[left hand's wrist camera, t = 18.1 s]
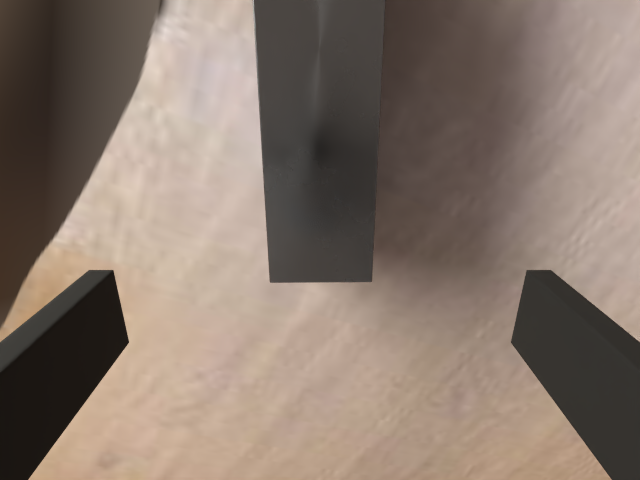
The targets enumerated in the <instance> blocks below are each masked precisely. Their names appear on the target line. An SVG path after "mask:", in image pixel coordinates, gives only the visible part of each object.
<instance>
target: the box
mask: <svg viewBox="0 0 640 480" xmlns="http://www.w3.org/2000/svg"><path fill="white" fill-rule="evenodd" d="M253 14H254V30H255V47H256V63H257V79H258V96H259V112H260V128H261V145H262V161H263V177H264V194H265V210H266V226H267V243H268V259H269V275H270V283H286V282H372V269H373V249H374V228H375V207H376V186H377V165H378V145H379V124H380V103H381V82H382V61H383V41H384V20H385V0H253Z"/></svg>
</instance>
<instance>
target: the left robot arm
mask: <svg viewBox="0 0 640 480" xmlns="http://www.w3.org/2000/svg"><path fill="white" fill-rule="evenodd" d="M128 343H129V340H128V335H127V331H126V326H125V322H124V317H123V313H122V308H121V303H120V299H119V294H118V290H117V285H116V281H115V276H114V271H113V270H89V271H88V272H86V273H85V274H84V275H83V276H81V277H80V278H79V279H78V280H76V281H75V282H74V283H73V284H72V285H70V286H69V287H68V288H67V289H65V290H64V291H63V292H62V293H60V294H59V295H58V296H57V297H56V298H54V299H53V300H52V301H51V302H49V303H48V304H47V305H46V306H44V307H43V308H42V309H41V310H40V311H38V312H37V313H36V314H35V315H33V316H32V317H31V318H30V319H28V320H27V321H26V322H25V323H24V324H22V325H21V326H20V327H19V328H17V329H16V330H15V331H14V332H12V333H11V334H10V335H9V336H8V337H6V338H5V339H4V340H3V341H1V342H0V480H28V479H29V478H30V476H31V475H32V474H33V472H34V471H35V470H36V468H37V467H38V465H39V464H40V463H41V461H42V460H43V459H44V457H45V456H46V455H47V453H48V452H49V450H50V449H51V448H52V446H53V445H54V444H55V442H56V441H57V440H58V438H59V437H60V436H61V434H62V433H63V431H64V430H65V429H66V427H67V426H68V425H69V423H70V422H71V421H72V419H73V418H74V416H75V415H76V414H77V412H78V411H79V410H80V408H81V407H82V406H83V404H84V403H85V402H86V400H87V399H88V397H89V396H90V395H91V393H92V392H93V391H94V389H95V388H96V387H97V385H98V384H99V383H100V381H101V380H102V378H103V377H104V376H105V374H106V373H107V372H108V370H109V369H110V368H111V366H112V365H113V363H114V362H115V361H116V359H117V358H118V357H119V355H120V354H121V353H122V351H123V350H124V349H125V347H126V346H127V344H128ZM511 343H512V344H513V346H514V347H515V349H516V350H517V351H518V353H519V354H520V355H521V357H522V358H523V359H524V361H525V362H526V363H527V365H528V366H529V368H530V369H531V370H532V372H533V373H534V374H535V376H536V377H537V378H538V380H539V381H540V383H541V384H542V385H543V387H544V388H545V389H546V391H547V392H548V393H549V395H550V396H551V397H552V399H553V400H554V402H555V403H556V404H557V406H558V407H559V408H560V410H561V411H562V412H563V414H564V415H565V416H566V418H567V419H568V421H569V422H570V423H571V425H572V426H573V427H574V429H575V430H576V431H577V433H578V434H579V436H580V437H581V438H582V440H583V441H584V442H585V444H586V445H587V446H588V448H589V449H590V450H591V452H592V453H593V455H594V456H595V457H596V459H597V460H598V461H599V463H600V464H601V465H602V467H603V468H604V470H605V471H606V472H607V474H608V475H609V476H610V478H611V479H612V480H640V342H639V341H637V340H636V339H635V338H634V337H632V336H631V335H630V334H629V333H628V332H626V331H625V330H624V329H623V328H621V327H620V326H619V325H618V324H616V323H615V322H614V321H613V320H612V319H610V318H609V317H608V316H607V315H605V314H604V313H603V312H602V311H600V310H599V309H598V308H597V307H596V306H594V305H593V304H592V303H591V302H589V301H588V300H587V299H586V298H584V297H583V296H582V295H581V294H580V293H578V292H577V291H576V290H575V289H573V288H572V287H571V286H570V285H568V284H567V283H566V282H565V281H564V280H562V279H561V278H560V277H559V276H557V275H556V274H555V273H554V272H552V271H551V270H527V271H526V276H525V281H524V285H523V290H522V294H521V299H520V303H519V308H518V313H517V317H516V322H515V326H514V331H513V335H512V340H511Z"/></svg>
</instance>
